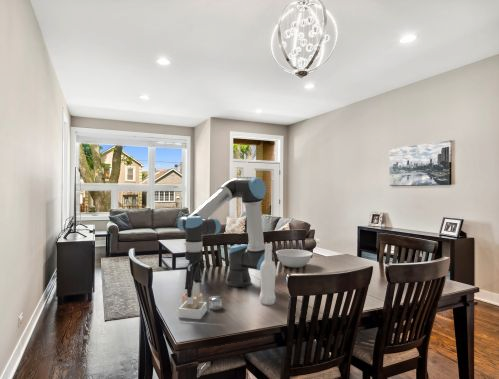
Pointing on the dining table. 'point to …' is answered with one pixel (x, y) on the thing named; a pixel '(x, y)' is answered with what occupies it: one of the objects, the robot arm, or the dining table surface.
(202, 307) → the tray white
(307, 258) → the bowl
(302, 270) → the dining table surface
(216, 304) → the tin
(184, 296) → the terracotta cup
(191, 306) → the block
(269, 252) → the bottle
